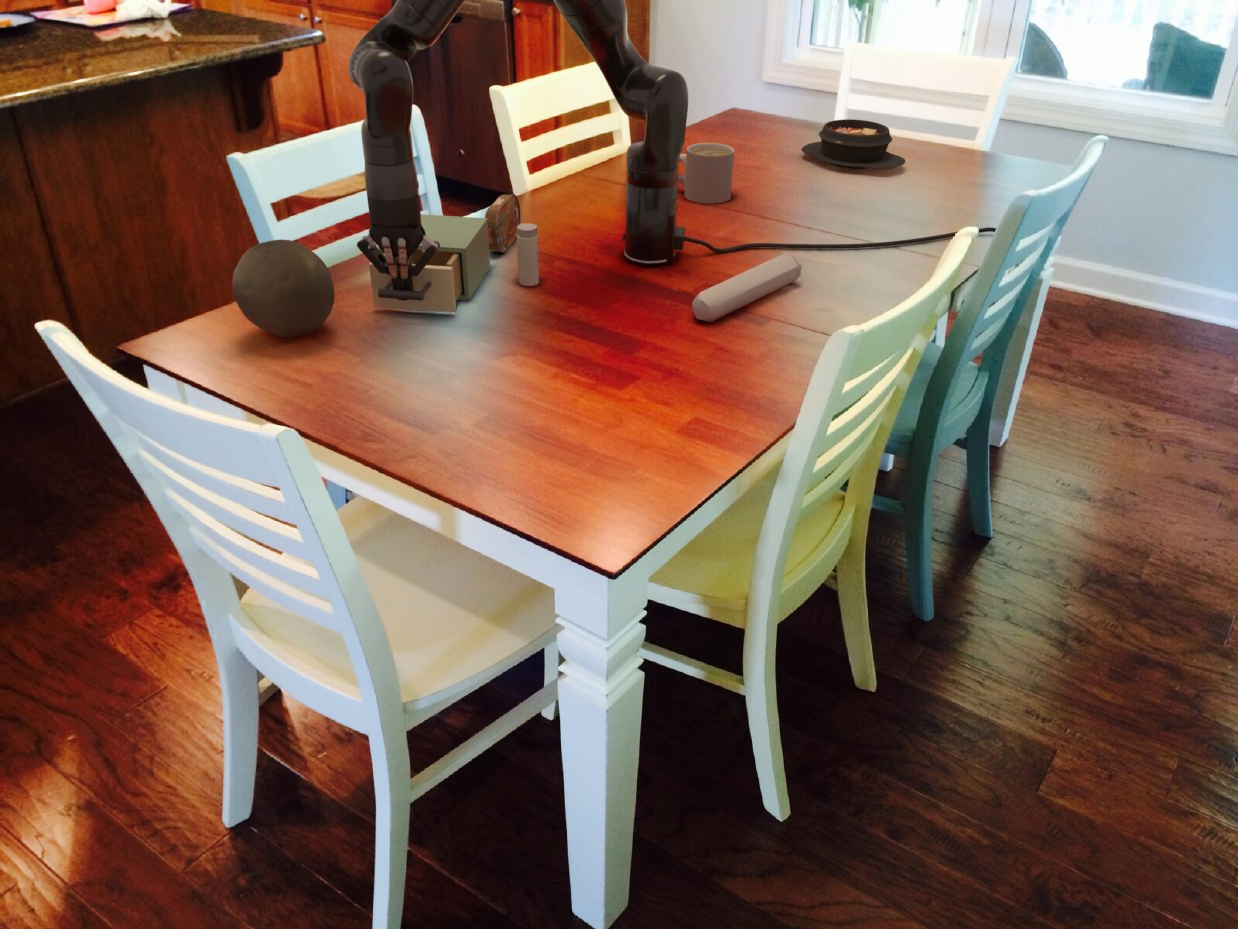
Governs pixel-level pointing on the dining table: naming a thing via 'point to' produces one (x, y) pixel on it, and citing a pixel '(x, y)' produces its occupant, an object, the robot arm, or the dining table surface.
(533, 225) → the salt shaker
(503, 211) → the tin
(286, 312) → the dark brown ball
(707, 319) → the tube
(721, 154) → the coffee mug
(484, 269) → the cabinet
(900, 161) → the casserole
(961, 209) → the dining table surface
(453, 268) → the drawer
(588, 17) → the robot arm
